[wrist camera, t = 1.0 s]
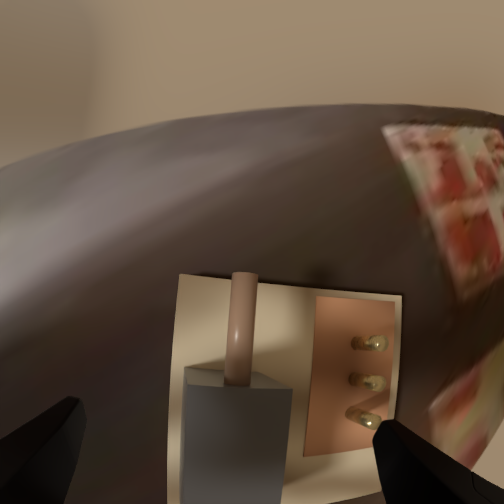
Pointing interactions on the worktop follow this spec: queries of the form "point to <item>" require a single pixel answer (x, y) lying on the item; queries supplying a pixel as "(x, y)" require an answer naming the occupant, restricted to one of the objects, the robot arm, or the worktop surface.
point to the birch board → (298, 376)
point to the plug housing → (234, 419)
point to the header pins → (367, 380)
